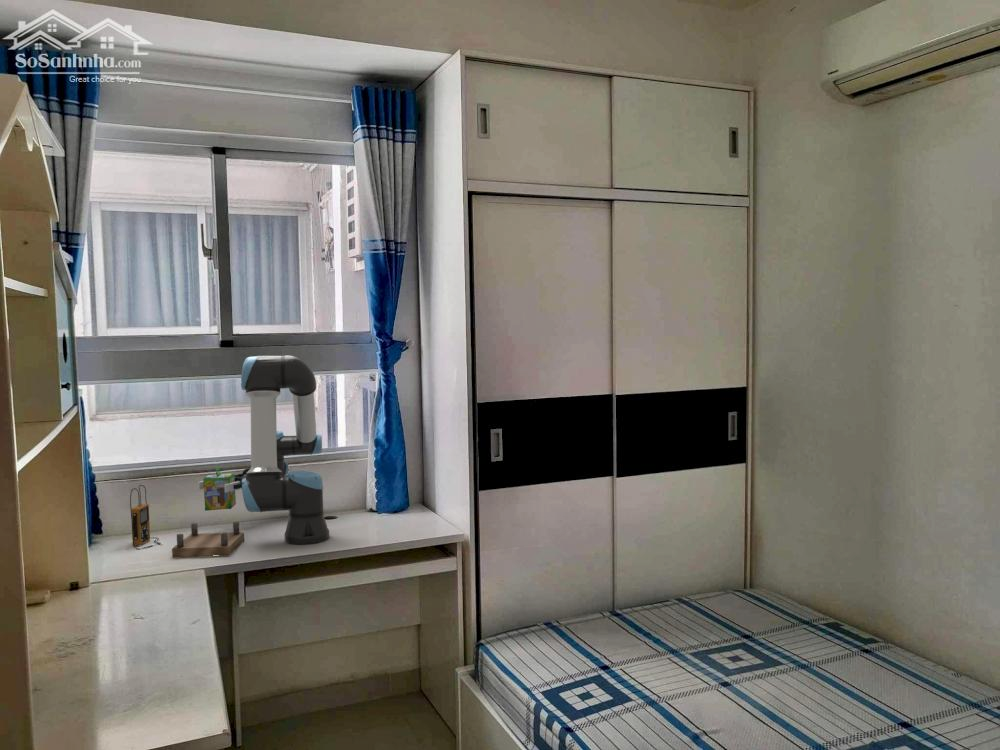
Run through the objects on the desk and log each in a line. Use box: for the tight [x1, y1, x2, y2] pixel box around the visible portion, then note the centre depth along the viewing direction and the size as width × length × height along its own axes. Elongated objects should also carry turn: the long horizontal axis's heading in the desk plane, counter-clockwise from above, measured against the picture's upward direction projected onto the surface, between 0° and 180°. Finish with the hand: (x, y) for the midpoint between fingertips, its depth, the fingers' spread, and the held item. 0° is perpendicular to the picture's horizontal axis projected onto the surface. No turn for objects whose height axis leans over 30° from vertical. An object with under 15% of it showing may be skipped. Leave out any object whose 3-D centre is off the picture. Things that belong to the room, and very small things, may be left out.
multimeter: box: [129, 484, 163, 550], centre depth 266 cm, size 15×10×20 cm
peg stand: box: [171, 521, 245, 558], centre depth 259 cm, size 18×18×7 cm
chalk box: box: [202, 465, 237, 511], centre depth 275 cm, size 9×9×15 cm
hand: (211, 487), depth 272 cm, fingers closed on chalk box, 12 cm apart
